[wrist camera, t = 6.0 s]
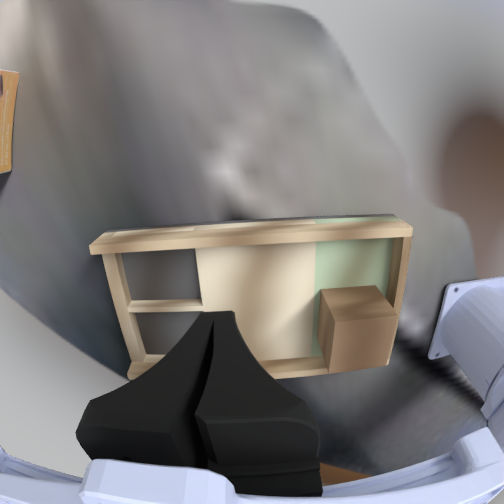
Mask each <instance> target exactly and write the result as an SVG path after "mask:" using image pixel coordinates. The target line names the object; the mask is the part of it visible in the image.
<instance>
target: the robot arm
mask: <svg viewBox="0 0 504 504" xmlns="http://www.w3.org/2000/svg"><path fill="white" fill-rule="evenodd" d="M455 288H456V289H455ZM454 289H455V290H454ZM448 355H451V356H452V357H453V359H454V360H455V361H456V363H457V364H458V365H459V367H460V368H461V369H462V371H463V372H464V373H465V375H466V376H467V377H468V379H469V380H470V382H471V383H472V384H473V386H474V387H475V389H476V390H477V391H478V393H479V394H480V396H481V397H482V399H483V400H484V402H485V404H484V405H483V407H482V408H481V411H482V413H483V415H484V416H485V418H486V419H485V420H484V421H483V423H482V427H481V429H479V430H477V431H475V432H472V433H470V434H468V435H465V436H463V437H462V438H460V439H459V440H458V441H456V443H455V444H454V445H453V447H452V448H451V450H450V452H449V453H446V454H444V455H441V456H438V457H436V458H433V459H430V460H427V461H424V462H421V463H418V464H415V465H412V466H409V467H406V468H402V469H399V470H396V471H392V472H389V473H385V474H381V475H377V476H373V477H369V478H365V479H360V480H356V481H351V482H346V483H341V484H336V485H330V486H324V487H322V482H321V477H320V472H319V470H320V463H319V459H318V455H319V449H320V443H321V433H320V429H319V427H318V424H317V422H316V420H315V418H314V416H313V414H312V412H311V410H310V409H309V407H308V405H307V404H306V402H305V401H304V400H302V399H301V398H299V397H297V396H296V395H294V394H293V393H291V392H290V391H288V390H287V389H286V388H284V387H283V386H282V385H281V384H279V383H278V382H277V381H276V380H275V379H274V378H273V377H272V376H271V375H270V374H269V373H268V372H267V371H266V370H265V369H264V368H263V367H262V366H261V365H260V363H259V362H258V361H257V360H256V358H255V357H254V356H253V354H252V353H251V351H250V350H249V348H248V346H247V345H246V343H245V341H244V339H243V337H242V335H241V333H240V331H239V329H238V326H237V323H236V318H235V312H233V311H232V310H230V311H212V312H201V313H200V314H199V316H198V317H197V318H196V320H195V321H194V323H193V324H192V325H191V326H190V328H189V329H188V330H187V332H186V333H185V334H184V335H183V337H182V338H181V339H180V340H179V341H178V342H177V344H176V345H175V346H174V347H173V348H172V349H171V350H170V351H169V352H168V353H167V354H166V355H165V356H164V357H163V358H162V359H161V360H160V361H158V362H157V363H156V364H155V365H154V366H152V367H151V368H150V369H148V370H147V371H145V372H144V373H143V374H141V375H140V376H138V377H137V378H135V379H134V380H132V381H130V382H129V383H127V384H125V385H123V386H122V387H120V388H118V389H116V390H114V391H112V392H109V393H107V394H104V395H102V396H100V397H97V398H95V399H92V400H90V402H89V403H88V405H87V407H86V409H85V411H84V413H83V416H82V419H81V421H80V423H79V426H78V428H77V430H76V437H77V440H78V441H79V443H80V445H81V447H82V448H83V449H84V450H85V452H86V453H87V455H88V456H89V457H90V458H91V460H92V461H91V462H90V463H89V464H88V466H87V469H86V472H85V474H84V478H80V477H76V476H72V475H69V474H65V473H61V472H58V471H54V470H51V469H48V468H45V467H41V466H38V465H35V464H32V463H30V462H27V461H24V460H21V459H18V458H16V457H13V456H11V455H8V454H6V452H5V451H4V449H3V448H2V447H1V446H0V504H487V503H488V502H490V501H491V500H492V499H493V498H494V497H495V496H496V495H497V494H498V493H499V492H500V491H501V490H503V489H504V276H500V277H493V278H487V279H480V280H473V281H466V282H459V283H452V284H449V285H448V286H447V287H446V290H445V294H444V298H443V303H442V307H441V311H440V314H439V318H438V322H437V326H436V329H435V333H434V336H433V339H432V343H431V346H430V349H429V352H428V358H429V359H436V358H440V357H444V356H448Z"/></svg>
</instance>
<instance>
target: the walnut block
mask: <svg viewBox="0 0 504 504" xmlns="http://www.w3.org/2000/svg"><path fill="white" fill-rule="evenodd" d="M397 319H398V314H397V313H396V312H395V310H394V309H393V308H392V306H391V305H390V303H389V302H388V301H387V299H386V298H385V297H384V296H383V294H382V293H381V292H380V290H379V289H378V288H377V286H376V285H369V286H356V287H342V288H328V289H321V291H320V305H319V318H318V331H317V339H318V342H319V345H320V348H321V351H322V354H323V357H324V361H325V364H326V367H327V370H328V373H338V372H346V371H353V370H360V369H367V368H374V367H380V366H386V364H387V360H388V356H389V352H390V348H391V344H392V340H393V336H394V332H395V328H396V323H397Z"/></svg>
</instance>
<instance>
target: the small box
mask: <svg viewBox="0 0 504 504" xmlns="http://www.w3.org/2000/svg"><path fill="white" fill-rule="evenodd" d="M19 76H20V74H19V73H18V72H13V71H7V70H0V174H2V173H6V172H9V171H11V142H12V128H13V117H14V108H15V100H16V92H17V86H18V82H19Z"/></svg>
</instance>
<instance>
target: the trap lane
mask: <svg viewBox="0 0 504 504" xmlns="http://www.w3.org/2000/svg"><path fill="white" fill-rule="evenodd" d="M412 231H413V227H412V226H410V225H409V224H407V223H405V222H404V221H402V220H401V219H399V218H398V217H396V216H395V215H393V214H379V215H345V216H318V217H294V218H274V219H255V220H237V221H221V222H205V223H191V224H177V225H164V226H151V227H139V228H127V229H115V230H107V231H106V232H105V233H103V234H102V235H101V236H100V237H99V238H97V239H96V240H95V241H94V242H93V243H91V244H90V245H89V248H90V253H91V255H94V254H102V257H103V261H104V266H105V270H106V274H107V278H108V282H109V286H110V290H111V294H112V298H113V302H114V305H115V309H116V312H117V316H118V319H119V323H120V326H121V329H122V333H123V336H124V339H125V342H126V345H127V348H128V351H129V355H130V357H131V360H132V363H131V365H130V368H129V370H128V373H127V376H128V378H129V380H134V379H135V378H137V377H138V376H140V375H141V374H143V373H144V372H145V371H147V370H148V369H150V368H151V367H152V366H154V365H155V364H156V363H157V362H158V361H160V360H161V359H162V358H163V357H164V356H165V355H166V354H167V353H168V352H169V351H170V350H171V349H172V348H173V347H174V346H175V345H176V344H177V342H178V341H179V340H180V339H181V338H182V337H183V335H184V334H185V333H186V332H187V330H188V329H189V328H190V326H191V325H192V324H193V323H194V321H195V320H196V318H197V317H198V316H199V314H200V313H201V312H212V311H230V310H232V311H233V312H235V318H236V323H237V326H238V329H239V331H240V333H241V335H242V337H243V339H244V341H245V343H246V345H247V346H248V348H249V350H250V351H251V353H252V354H253V356H254V357H255V358H256V360H257V361H258V362H259V363H260V365H261V366H262V367H263V368H264V369H265V370H266V371H267V372H268V373H269V374H270V375H271V376H272V377H273V378H274V379H280V378H292V377H303V376H313V375H322V374H330V373H328V370H327V367H326V364H325V361H324V357H323V354H322V351H321V348H320V345H319V342H318V339H317V331H318V318H319V305H320V291H321V289H328V288H342V287H356V286H369V285H376V286H377V288H378V289H379V290H380V292H381V293H382V294H383V296H384V297H385V298H386V299H387V301H388V302H389V303H390V305H391V306H392V308H393V309H394V310H395V312H396V313H397V314H398V319H397V323H396V328H395V332H394V336H393V340H392V344H391V348H390V352H389V356H388V360H387V364H386V365H388V363H389V359H390V355H391V351H392V347H393V343H394V338H395V334H396V329H397V325H398V320H399V315H400V310H401V305H402V300H403V294H404V288H405V282H406V276H407V270H408V263H409V256H410V248H411V240H412Z"/></svg>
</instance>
